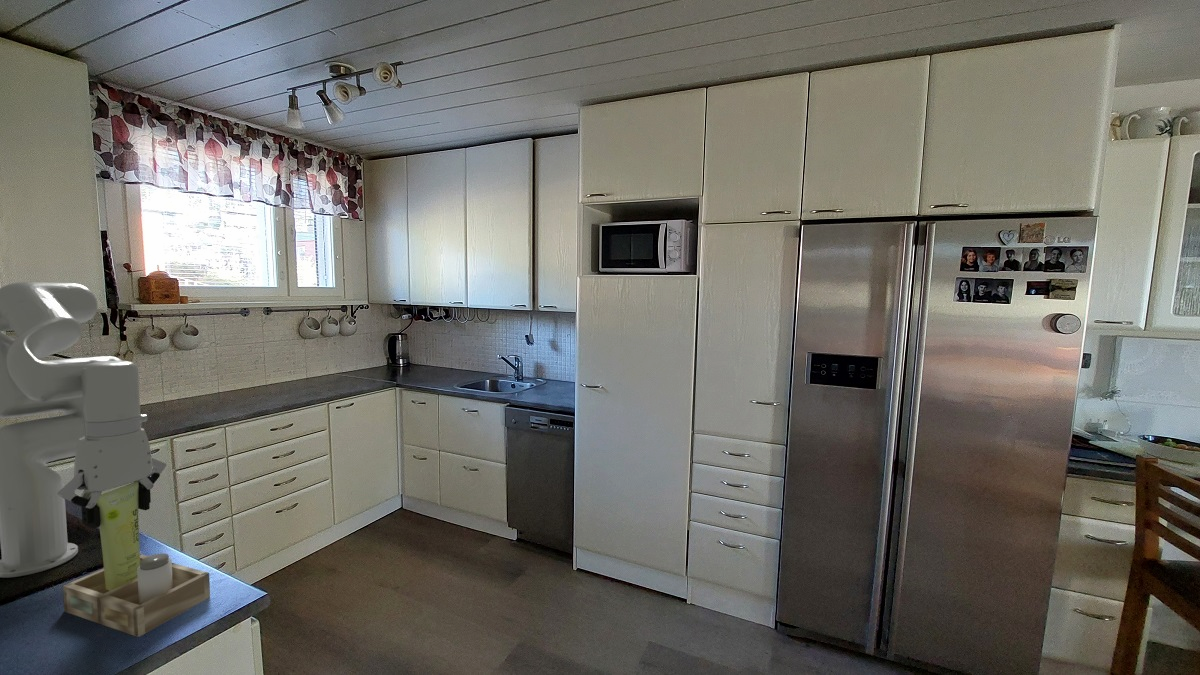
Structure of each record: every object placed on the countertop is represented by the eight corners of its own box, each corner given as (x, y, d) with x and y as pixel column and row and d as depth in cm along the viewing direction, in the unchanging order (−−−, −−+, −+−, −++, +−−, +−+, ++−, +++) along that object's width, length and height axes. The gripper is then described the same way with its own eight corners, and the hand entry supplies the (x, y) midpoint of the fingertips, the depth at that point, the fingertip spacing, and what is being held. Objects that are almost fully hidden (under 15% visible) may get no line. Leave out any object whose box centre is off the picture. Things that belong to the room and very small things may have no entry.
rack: (63, 616, 92) (61, 586, 91) (140, 580, 103) (139, 553, 103) (137, 642, 86) (135, 610, 85) (210, 601, 98) (209, 573, 97)
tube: (137, 588, 95) (131, 490, 93) (100, 596, 92) (94, 496, 90) (143, 573, 99) (138, 480, 97) (109, 581, 97) (103, 485, 95)
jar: (132, 614, 92) (130, 563, 91) (162, 599, 96) (160, 550, 95) (150, 620, 90) (148, 568, 89) (179, 604, 95) (177, 555, 94)
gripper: (152, 414, 102) (156, 496, 104) (37, 436, 85) (44, 534, 87) (178, 418, 100) (182, 502, 102) (65, 442, 83) (71, 542, 85)
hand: (118, 516), depth 94 cm, fingers closed on tube, 7 cm apart
